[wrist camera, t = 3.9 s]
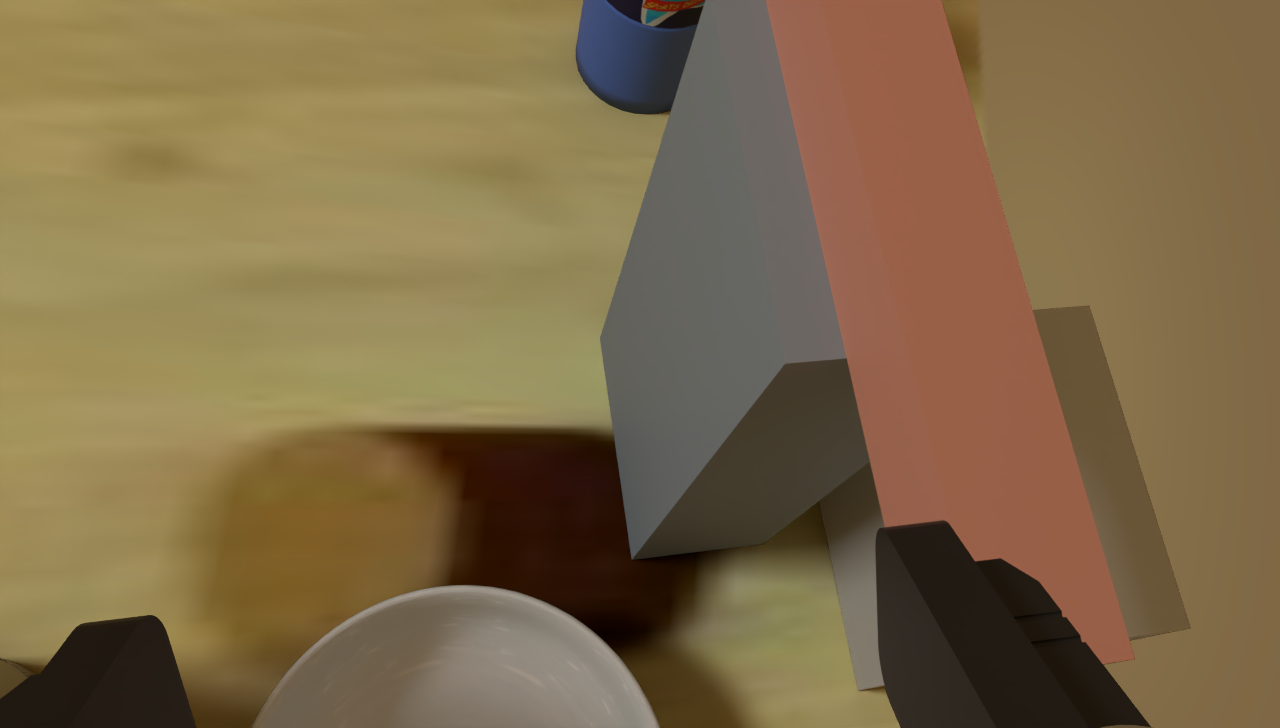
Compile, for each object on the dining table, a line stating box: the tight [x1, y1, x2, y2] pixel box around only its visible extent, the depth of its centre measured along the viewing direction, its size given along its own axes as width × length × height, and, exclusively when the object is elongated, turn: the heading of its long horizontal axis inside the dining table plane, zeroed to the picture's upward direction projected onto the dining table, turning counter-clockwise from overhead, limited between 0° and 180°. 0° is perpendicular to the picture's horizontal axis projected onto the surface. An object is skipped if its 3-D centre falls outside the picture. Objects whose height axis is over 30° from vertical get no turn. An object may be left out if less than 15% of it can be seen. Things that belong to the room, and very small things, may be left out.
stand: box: [600, 0, 1190, 690], centre depth 50 cm, size 23×18×32 cm
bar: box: [766, 0, 1135, 665], centre depth 32 cm, size 26×4×4 cm, turn 9°
